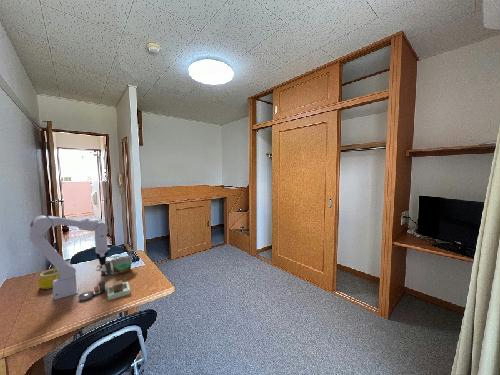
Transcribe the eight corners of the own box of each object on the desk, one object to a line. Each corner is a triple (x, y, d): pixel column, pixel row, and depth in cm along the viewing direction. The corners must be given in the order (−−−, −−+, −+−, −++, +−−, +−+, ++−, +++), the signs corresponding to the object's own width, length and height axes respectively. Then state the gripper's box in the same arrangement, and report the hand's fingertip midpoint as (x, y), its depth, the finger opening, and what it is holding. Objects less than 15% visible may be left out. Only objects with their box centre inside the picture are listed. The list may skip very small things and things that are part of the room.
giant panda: (111, 268, 143) (110, 255, 142) (119, 269, 143) (118, 255, 142) (93, 280, 129) (91, 265, 128) (101, 280, 128) (100, 265, 127)
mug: (35, 287, 121) (33, 267, 120) (59, 278, 131) (57, 259, 130) (45, 293, 115) (43, 272, 114) (70, 283, 125) (68, 263, 124)
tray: (108, 300, 109) (107, 296, 108) (107, 291, 117) (106, 287, 116) (130, 293, 114) (130, 289, 114) (128, 285, 122) (127, 281, 122)
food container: (116, 278, 131) (114, 262, 130) (111, 275, 135) (110, 259, 134) (136, 270, 141) (135, 255, 140) (132, 267, 145) (131, 253, 144)
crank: (78, 302, 107) (77, 292, 106) (78, 296, 112) (77, 287, 111) (106, 293, 114) (105, 284, 114) (104, 288, 119) (104, 280, 119)
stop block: (114, 294, 113) (113, 285, 112) (113, 291, 116) (113, 282, 116) (123, 292, 115) (122, 283, 115) (122, 288, 118) (121, 280, 118)
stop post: (94, 294, 115) (93, 287, 114) (94, 292, 116) (94, 286, 116) (99, 292, 116) (98, 286, 115) (99, 291, 117) (98, 284, 117)
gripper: (110, 244, 123) (111, 267, 124) (108, 237, 134) (110, 258, 136) (94, 247, 118) (96, 270, 120) (94, 240, 130) (96, 261, 131)
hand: (102, 264), depth 127 cm, fingers closed
